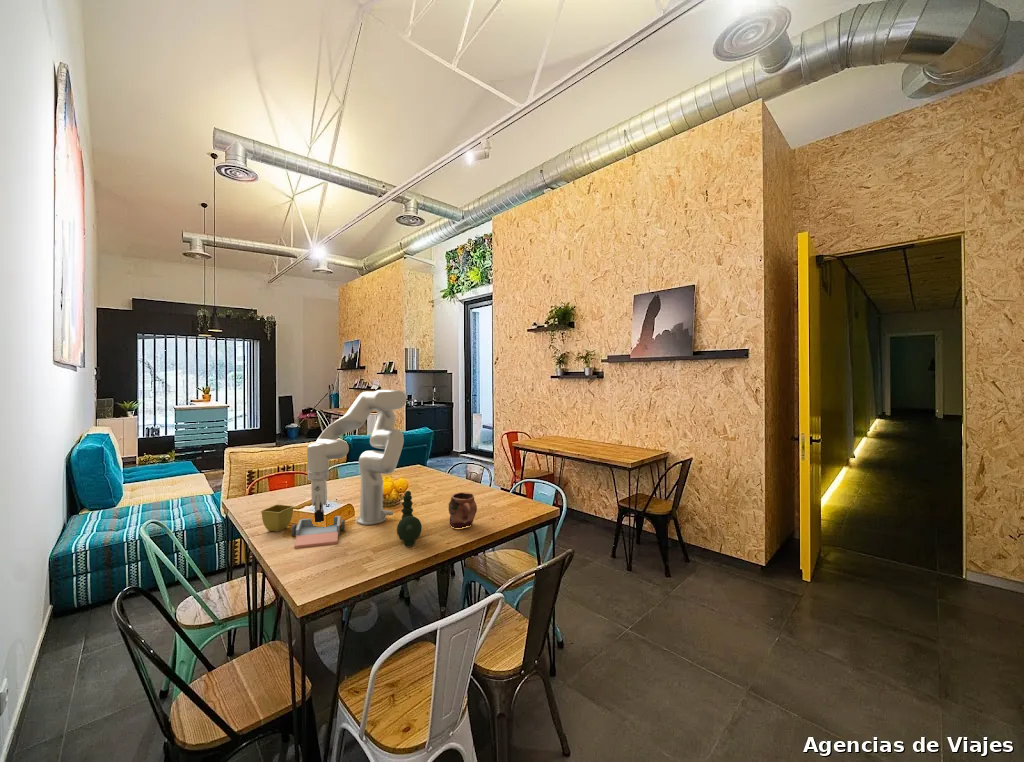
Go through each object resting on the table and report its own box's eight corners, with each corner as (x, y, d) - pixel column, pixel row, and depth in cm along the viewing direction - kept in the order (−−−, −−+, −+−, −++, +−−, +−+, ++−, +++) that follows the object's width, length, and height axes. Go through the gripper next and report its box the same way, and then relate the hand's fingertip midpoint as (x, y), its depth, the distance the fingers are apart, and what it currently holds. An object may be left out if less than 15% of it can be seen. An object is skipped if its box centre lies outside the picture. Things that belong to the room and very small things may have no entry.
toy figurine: (395, 534, 179) (397, 553, 155) (396, 489, 181) (397, 500, 157) (418, 532, 182) (423, 550, 158) (418, 488, 183) (423, 499, 159)
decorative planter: (484, 532, 179) (485, 500, 179) (457, 537, 173) (458, 503, 173) (466, 518, 196) (466, 488, 196) (441, 522, 190) (441, 491, 190)
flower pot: (278, 534, 173) (279, 512, 173) (260, 532, 174) (260, 510, 174) (293, 526, 181) (294, 506, 181) (276, 525, 183) (276, 504, 183)
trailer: (295, 526, 181) (295, 516, 181) (344, 522, 188) (345, 512, 188) (290, 540, 166) (290, 529, 166) (344, 535, 173) (344, 524, 173)
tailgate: (296, 535, 166) (293, 545, 159) (338, 530, 172) (338, 541, 164) (296, 537, 167) (293, 548, 159) (338, 533, 172) (338, 543, 165)
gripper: (327, 478, 159) (328, 526, 160) (329, 469, 173) (330, 513, 174) (305, 480, 156) (306, 529, 157) (309, 470, 170) (310, 515, 171)
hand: (319, 520), depth 165 cm, fingers closed
